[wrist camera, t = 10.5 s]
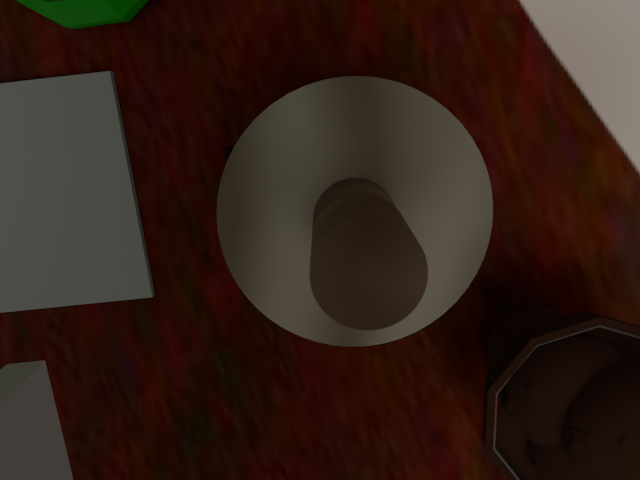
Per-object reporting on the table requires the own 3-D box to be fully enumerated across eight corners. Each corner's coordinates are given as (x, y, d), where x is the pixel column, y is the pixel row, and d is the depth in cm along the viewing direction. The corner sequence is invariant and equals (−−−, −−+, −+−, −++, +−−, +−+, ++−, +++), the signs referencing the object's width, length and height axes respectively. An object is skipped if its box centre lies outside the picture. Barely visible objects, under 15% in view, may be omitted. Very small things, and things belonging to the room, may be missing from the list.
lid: (239, 347, 28) (202, 464, 20) (202, 91, 26) (138, 92, 17) (489, 324, 28) (567, 432, 19) (481, 62, 25) (568, 48, 16)
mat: (-56, 315, 39) (-62, 319, 38) (-117, 97, 35) (-125, 97, 35) (155, 294, 38) (152, 297, 38) (113, 71, 35) (109, 70, 34)
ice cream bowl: (424, 298, 38) (485, 424, 24) (592, 242, 37) (763, 338, 23) (469, 434, 41) (550, 625, 26) (628, 385, 40) (804, 555, 25)
